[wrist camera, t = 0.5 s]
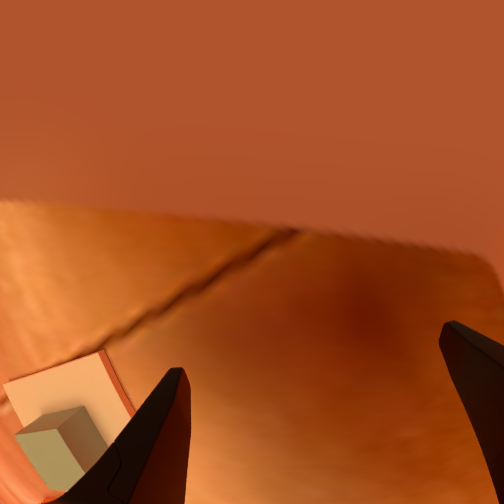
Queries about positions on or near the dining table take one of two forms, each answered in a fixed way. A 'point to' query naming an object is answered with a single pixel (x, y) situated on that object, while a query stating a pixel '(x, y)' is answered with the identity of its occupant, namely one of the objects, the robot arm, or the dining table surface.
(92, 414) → the base plate
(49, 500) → the orange block
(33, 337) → the dining table surface
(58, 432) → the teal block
